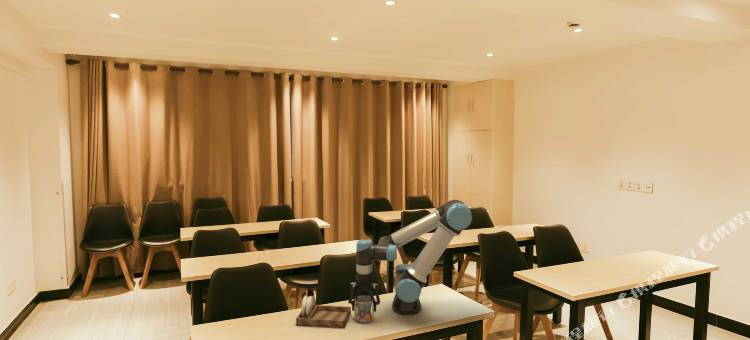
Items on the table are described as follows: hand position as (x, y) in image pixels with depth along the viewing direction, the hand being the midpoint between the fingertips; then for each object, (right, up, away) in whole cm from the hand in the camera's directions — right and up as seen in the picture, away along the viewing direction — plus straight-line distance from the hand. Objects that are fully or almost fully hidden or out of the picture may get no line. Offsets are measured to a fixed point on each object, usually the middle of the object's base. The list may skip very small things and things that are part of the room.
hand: (364, 317), depth 215 cm
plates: (-28, 0, 0) cm, 28 cm away
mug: (0, -1, 0) cm, 1 cm away
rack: (-19, -1, -1) cm, 19 cm away
